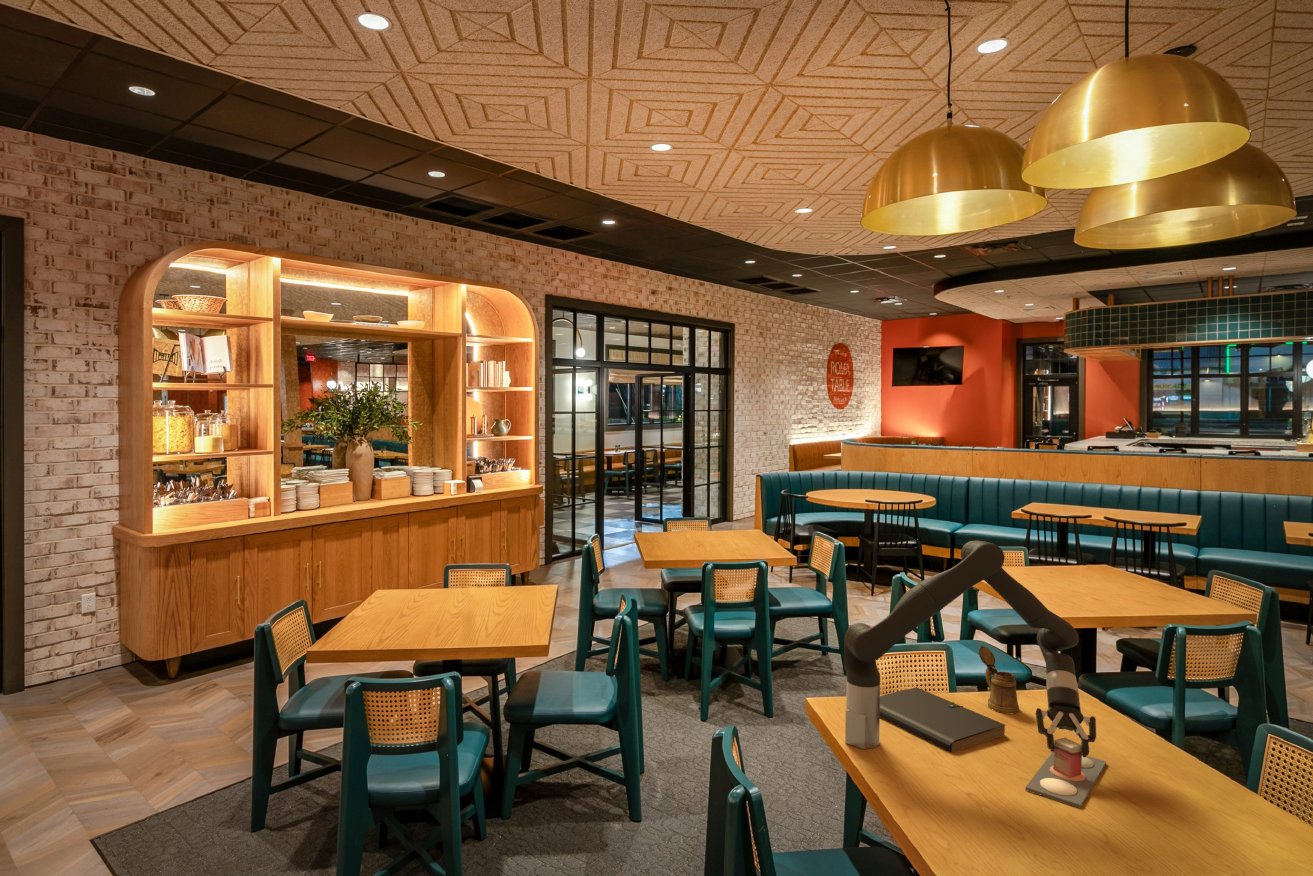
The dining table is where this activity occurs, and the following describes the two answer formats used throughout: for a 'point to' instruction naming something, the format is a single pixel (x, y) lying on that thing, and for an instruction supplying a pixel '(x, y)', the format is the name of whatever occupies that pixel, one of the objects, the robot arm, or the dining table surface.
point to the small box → (1067, 757)
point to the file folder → (938, 719)
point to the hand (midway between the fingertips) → (1068, 753)
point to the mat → (1066, 781)
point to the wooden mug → (999, 685)
